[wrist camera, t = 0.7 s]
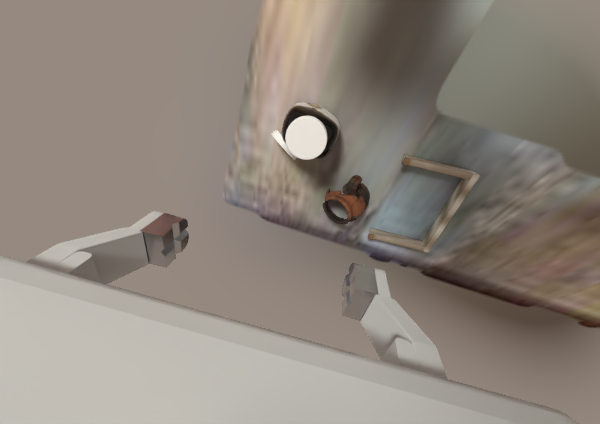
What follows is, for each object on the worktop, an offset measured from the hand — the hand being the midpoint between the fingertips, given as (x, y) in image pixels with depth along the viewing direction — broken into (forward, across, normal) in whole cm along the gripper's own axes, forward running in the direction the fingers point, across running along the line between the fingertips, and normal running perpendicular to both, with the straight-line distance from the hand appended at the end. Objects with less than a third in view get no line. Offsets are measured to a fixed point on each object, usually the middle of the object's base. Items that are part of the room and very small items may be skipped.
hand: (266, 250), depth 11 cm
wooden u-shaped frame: (+41, -24, +13) cm, 49 cm away
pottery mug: (+42, -9, +14) cm, 45 cm away
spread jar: (+41, +3, +3) cm, 41 cm away
